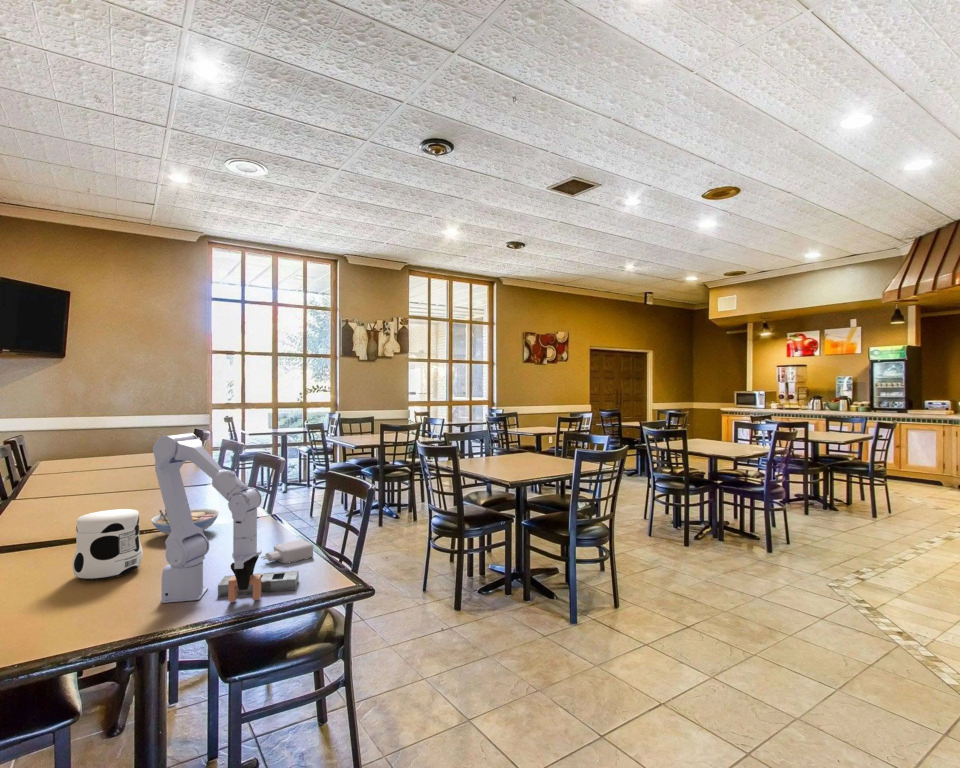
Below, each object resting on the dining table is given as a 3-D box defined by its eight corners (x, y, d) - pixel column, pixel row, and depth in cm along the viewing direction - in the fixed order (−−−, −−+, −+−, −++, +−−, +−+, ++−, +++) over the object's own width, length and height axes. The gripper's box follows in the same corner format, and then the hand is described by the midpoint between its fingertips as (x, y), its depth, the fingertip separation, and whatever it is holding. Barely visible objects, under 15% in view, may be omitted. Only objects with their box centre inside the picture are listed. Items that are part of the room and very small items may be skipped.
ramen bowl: (224, 537, 194) (224, 516, 194) (152, 548, 181) (152, 525, 181) (214, 523, 215) (214, 503, 215) (149, 532, 202) (149, 511, 202)
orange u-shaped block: (228, 601, 135) (228, 580, 135) (231, 597, 138) (231, 576, 138) (258, 599, 137) (259, 578, 137) (261, 594, 140) (261, 574, 140)
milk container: (82, 569, 162) (82, 511, 162) (147, 561, 168) (147, 506, 168) (63, 589, 146) (63, 525, 146) (136, 580, 153) (136, 518, 153)
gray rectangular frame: (217, 596, 141) (217, 585, 141) (224, 586, 147) (224, 576, 147) (295, 590, 145) (295, 579, 145) (298, 580, 152) (298, 570, 152)
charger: (256, 562, 168) (300, 551, 178) (268, 569, 161) (313, 558, 172) (256, 547, 168) (300, 538, 178) (268, 554, 161) (313, 544, 172)
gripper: (255, 542, 131) (255, 596, 131) (266, 527, 145) (266, 575, 145) (225, 544, 130) (225, 598, 130) (239, 528, 144) (239, 577, 144)
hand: (245, 586), depth 137 cm, fingers closed on orange u-shaped block, 3 cm apart
